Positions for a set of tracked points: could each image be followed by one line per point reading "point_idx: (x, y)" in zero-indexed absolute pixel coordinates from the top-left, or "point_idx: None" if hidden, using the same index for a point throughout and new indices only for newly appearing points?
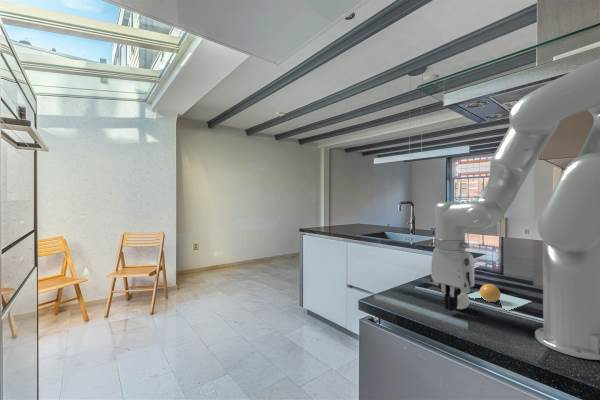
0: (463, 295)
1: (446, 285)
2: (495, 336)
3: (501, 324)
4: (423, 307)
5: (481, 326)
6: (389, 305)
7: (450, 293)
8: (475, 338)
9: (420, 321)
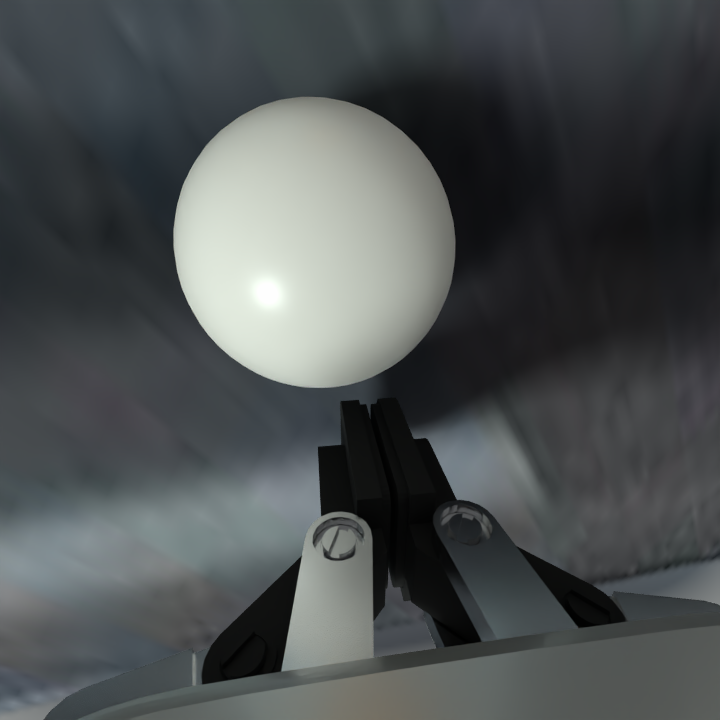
0: (428, 312)
1: (305, 658)
2: (683, 452)
3: (695, 250)
4: (146, 485)
5: (593, 406)
6: (21, 644)
7: (443, 637)
8: (609, 543)
9: None
